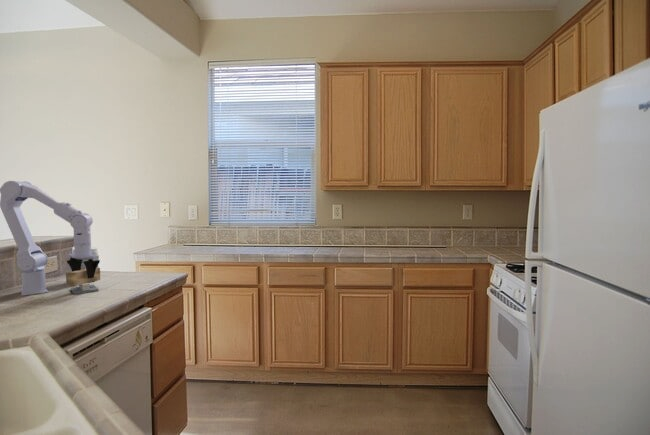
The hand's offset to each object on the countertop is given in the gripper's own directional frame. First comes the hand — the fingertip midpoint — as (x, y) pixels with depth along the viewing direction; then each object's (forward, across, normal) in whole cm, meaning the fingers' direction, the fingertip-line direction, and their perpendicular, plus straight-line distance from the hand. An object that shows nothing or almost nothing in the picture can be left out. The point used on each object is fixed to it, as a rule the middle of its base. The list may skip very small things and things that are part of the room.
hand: (83, 277), depth 149 cm
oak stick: (+2, 0, 0) cm, 2 cm away
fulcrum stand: (+5, 0, 0) cm, 5 cm away
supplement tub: (+6, -15, +12) cm, 20 cm away
